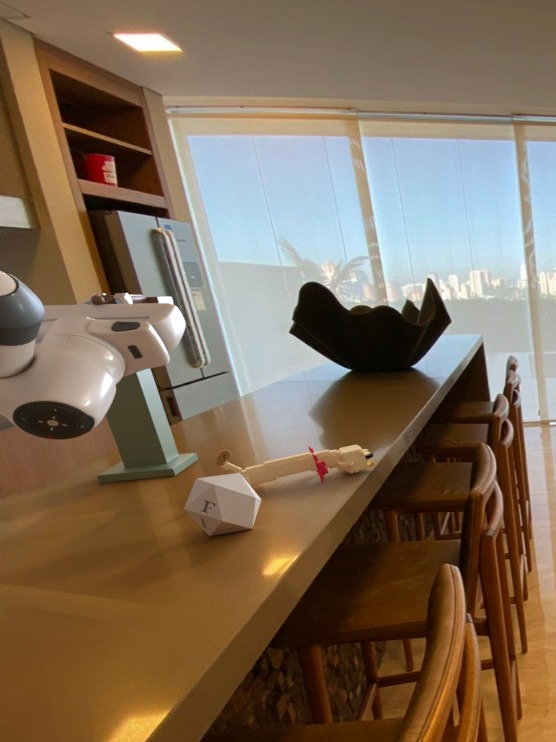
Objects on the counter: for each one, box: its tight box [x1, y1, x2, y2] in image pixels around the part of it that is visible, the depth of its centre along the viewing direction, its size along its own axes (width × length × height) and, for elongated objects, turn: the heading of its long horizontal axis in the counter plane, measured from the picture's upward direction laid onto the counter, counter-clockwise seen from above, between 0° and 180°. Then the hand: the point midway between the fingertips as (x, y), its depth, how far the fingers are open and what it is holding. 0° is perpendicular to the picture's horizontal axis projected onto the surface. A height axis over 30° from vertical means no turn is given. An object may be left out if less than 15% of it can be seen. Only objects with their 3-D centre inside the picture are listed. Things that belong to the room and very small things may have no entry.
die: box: [183, 472, 262, 537], centre depth 83 cm, size 8×9×10 cm
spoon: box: [90, 294, 174, 305], centre depth 94 cm, size 21×4×2 cm, turn 18°
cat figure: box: [215, 444, 378, 488], centre depth 104 cm, size 10×9×25 cm
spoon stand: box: [96, 368, 199, 484], centre depth 107 cm, size 12×14×26 cm
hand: (113, 297), depth 89 cm, fingers closed on spoon, 1 cm apart
